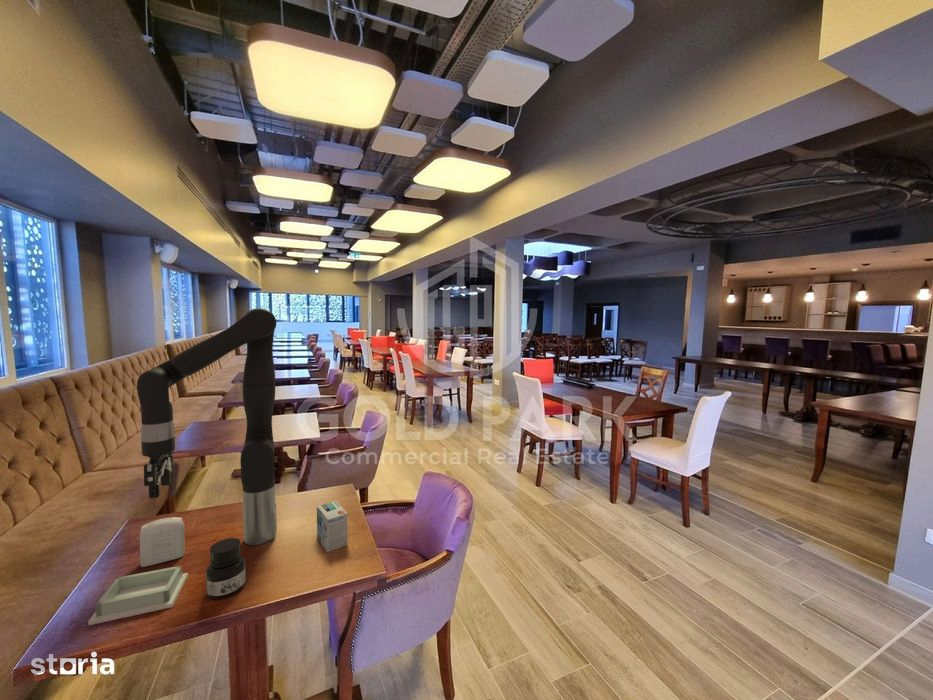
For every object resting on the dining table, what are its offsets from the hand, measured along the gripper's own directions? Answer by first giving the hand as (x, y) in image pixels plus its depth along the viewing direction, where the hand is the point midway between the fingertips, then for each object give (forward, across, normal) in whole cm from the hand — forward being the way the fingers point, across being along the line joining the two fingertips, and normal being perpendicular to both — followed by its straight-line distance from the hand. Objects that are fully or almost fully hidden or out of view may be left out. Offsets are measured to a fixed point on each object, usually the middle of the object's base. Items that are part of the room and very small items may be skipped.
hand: (160, 491), depth 109 cm
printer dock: (+21, -17, -1) cm, 27 cm away
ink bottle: (+21, -20, -20) cm, 35 cm away
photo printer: (+21, 0, 0) cm, 21 cm away
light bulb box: (+21, -7, -47) cm, 52 cm away
